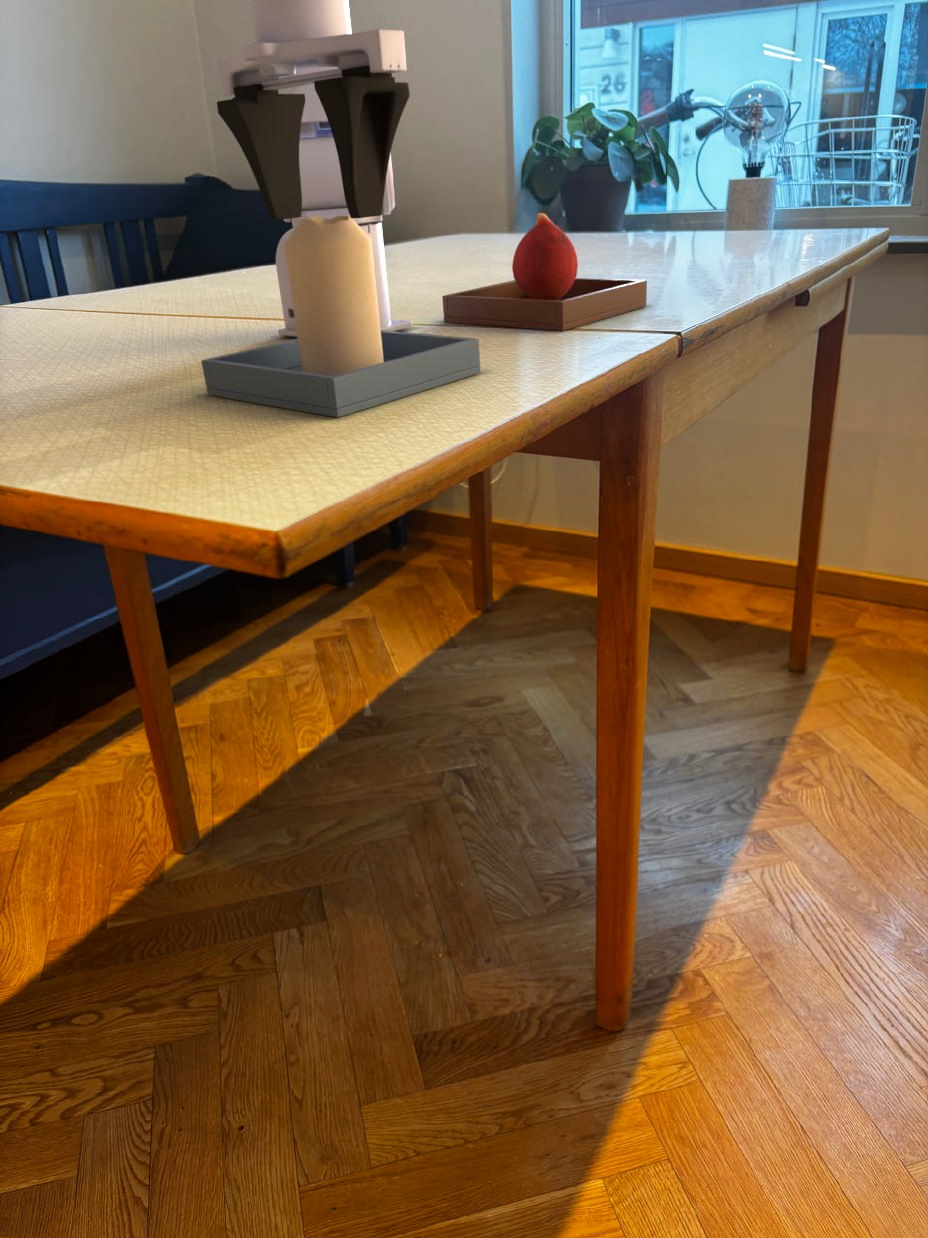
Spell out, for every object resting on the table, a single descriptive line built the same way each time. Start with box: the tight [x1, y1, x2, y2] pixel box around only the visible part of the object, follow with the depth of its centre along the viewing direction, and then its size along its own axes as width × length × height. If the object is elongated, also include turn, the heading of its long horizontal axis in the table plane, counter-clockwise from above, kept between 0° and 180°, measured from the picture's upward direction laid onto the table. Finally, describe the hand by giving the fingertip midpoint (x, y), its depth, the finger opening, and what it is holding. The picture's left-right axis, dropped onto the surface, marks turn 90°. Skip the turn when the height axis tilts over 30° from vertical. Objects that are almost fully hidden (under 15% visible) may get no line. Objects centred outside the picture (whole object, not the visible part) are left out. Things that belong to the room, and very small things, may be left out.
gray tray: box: [201, 330, 482, 418], centre depth 62 cm, size 13×13×2 cm
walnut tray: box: [441, 277, 648, 332], centre depth 83 cm, size 13×13×2 cm
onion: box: [511, 212, 579, 301], centre depth 81 cm, size 6×6×8 cm
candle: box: [284, 215, 384, 376], centre depth 60 cm, size 6×6×10 cm
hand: (324, 217), depth 58 cm, fingers open, 7 cm apart
